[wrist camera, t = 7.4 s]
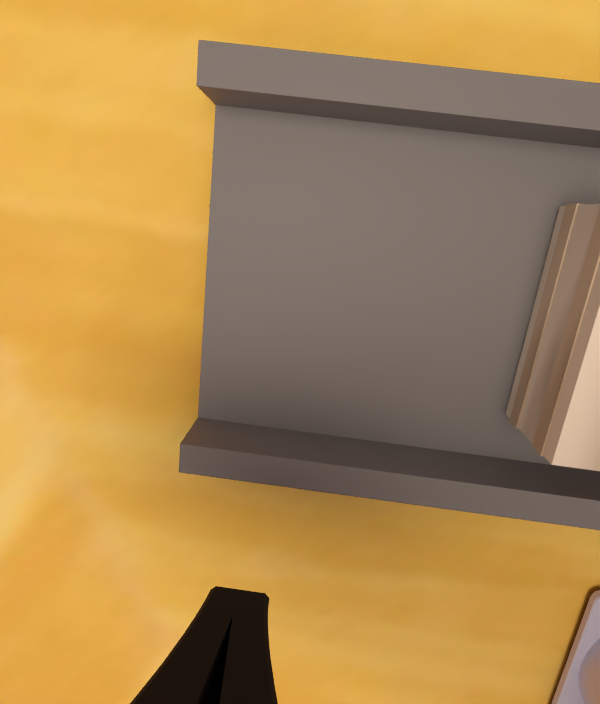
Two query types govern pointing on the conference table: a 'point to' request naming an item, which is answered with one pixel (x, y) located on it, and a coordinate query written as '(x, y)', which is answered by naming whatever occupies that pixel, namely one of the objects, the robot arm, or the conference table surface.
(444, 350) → the bay
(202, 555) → the conference table surface
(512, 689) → the conference table surface
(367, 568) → the conference table surface
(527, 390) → the tan layered slab
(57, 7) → the conference table surface
